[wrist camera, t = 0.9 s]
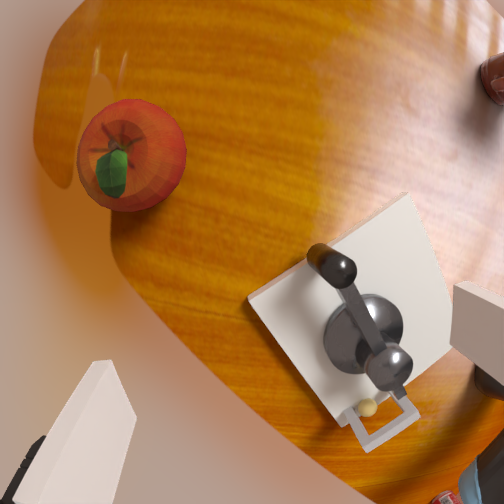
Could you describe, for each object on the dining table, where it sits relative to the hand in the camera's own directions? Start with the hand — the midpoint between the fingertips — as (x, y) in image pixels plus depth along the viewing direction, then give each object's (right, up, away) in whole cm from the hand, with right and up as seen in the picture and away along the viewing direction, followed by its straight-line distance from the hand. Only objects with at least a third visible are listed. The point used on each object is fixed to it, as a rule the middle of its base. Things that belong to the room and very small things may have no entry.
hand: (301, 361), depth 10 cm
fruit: (-12, +13, +18) cm, 25 cm away
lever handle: (+9, -3, +21) cm, 24 cm away
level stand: (+12, -4, +24) cm, 27 cm away
